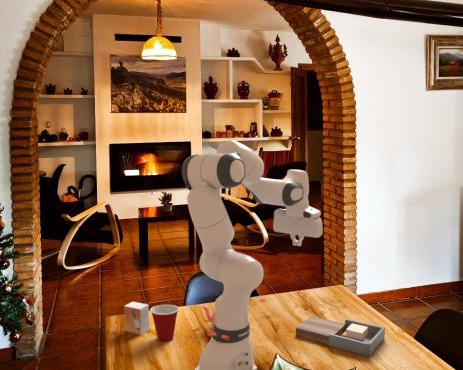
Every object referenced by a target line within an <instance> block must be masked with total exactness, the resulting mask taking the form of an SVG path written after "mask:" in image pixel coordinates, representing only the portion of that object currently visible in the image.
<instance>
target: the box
mask: <svg viewBox="0 0 463 370" xmlns="http://www.w3.org/2000/svg"><path fill="white" fill-rule="evenodd" d="M352 323H353V324H357V325H361V326H365V327H368V334H367V335H366V336H365V337H364V339H363V340H362V341H357V340H353V339H349V338H346V337H342V334H343V333H344V332H345V331H346V330H345V331H344V332H343V333H342V334H341V335H340V336H338V335H334V334H329V344H328V347H330V346H331V348H334V347H335V349H337V348H338V349H337V350H341V349H342V351H345V352H350V353H353V354H356V355H360V356H363V355H364V356H363V357H367V358H370V357H371V356H372V355H373V354H374V352H376V350H377V349H378V348H377V347H380V346H381V344H382V343H383V342H384V341H385V340H386V339H385V338H386V337H385V331H386V328H385V327H383V326H379V325H374V324H370V323H366V322H362V321H358V320H354V319H353V320H352V319H348V318H345V319H344V324H346V329H347V328H348V327H349V326H350V325H351V324H352ZM382 341H383V342H382ZM381 342H382V343H381Z"/></svg>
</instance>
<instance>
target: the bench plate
mask: <svg viewBox="0 0 463 370" xmlns="http://www.w3.org/2000/svg"><path fill="white" fill-rule="evenodd" d="M345 330H346V324H345V323H343V322H339V321H334V320H329V319H326V318H321V317H316V316H314V315H313V316H312V315H310V316H309V317H308V318H306V319H304V321H302V322H301V323H300V324H299V325H297V326H296V327H295V336H298V337H301V338H306V339H309V340H312V341H316V342H319V343H323V344H327V343H328V344H327V345H329V334H334V335H338V336H340V335H341V334H342V333H343V332H344V331H345Z"/></svg>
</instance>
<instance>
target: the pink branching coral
mask: <svg viewBox="0 0 463 370" xmlns="http://www.w3.org/2000/svg"><path fill="white" fill-rule="evenodd" d="M200 308H203V309H204V311H205V314H206V319H207V321H208V322H210V323H211V330H212V331H213V327H214V323H215V308H214V310H213V313H212V314H211V312H210V310H209V307H208V306H206V305H200Z"/></svg>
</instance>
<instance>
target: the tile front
mask: <svg viewBox="0 0 463 370" xmlns="http://www.w3.org/2000/svg"><path fill="white" fill-rule="evenodd" d="M342 337H346V338H349V339H353V340H357V341H362V340H363V339H364V338H363V339H362V340H360V339H356V338H352V337H348V336H346V331H345V332H344V333H343V334H342Z"/></svg>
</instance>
